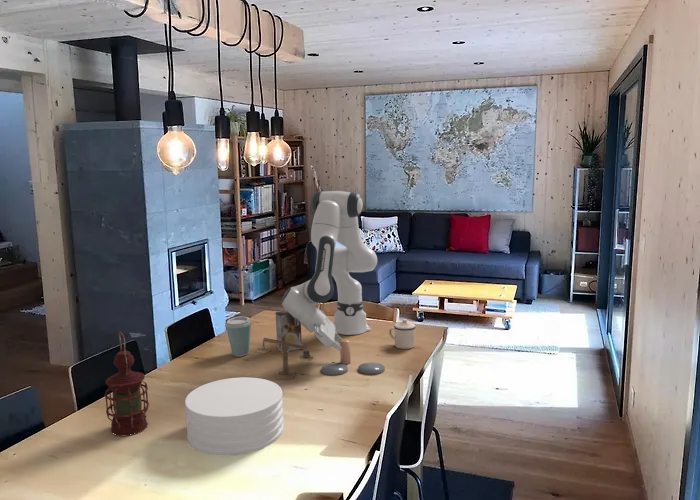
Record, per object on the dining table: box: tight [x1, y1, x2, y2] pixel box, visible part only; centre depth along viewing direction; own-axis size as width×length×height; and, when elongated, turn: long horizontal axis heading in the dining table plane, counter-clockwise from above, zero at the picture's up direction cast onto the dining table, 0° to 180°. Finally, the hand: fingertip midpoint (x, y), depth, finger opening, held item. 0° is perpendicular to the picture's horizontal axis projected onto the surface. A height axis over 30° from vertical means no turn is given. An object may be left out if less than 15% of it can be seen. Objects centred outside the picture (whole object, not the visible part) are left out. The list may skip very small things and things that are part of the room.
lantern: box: [104, 330, 150, 436], centre depth 170 cm, size 12×12×30 cm
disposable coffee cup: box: [224, 315, 253, 357], centre depth 235 cm, size 11×11×15 cm
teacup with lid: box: [388, 318, 416, 350], centre depth 243 cm, size 12×9×12 cm
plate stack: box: [184, 376, 285, 456], centre depth 169 cm, size 28×28×12 cm
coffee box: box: [275, 310, 303, 353], centre depth 241 cm, size 9×6×16 cm
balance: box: [256, 337, 314, 380], centre depth 211 cm, size 6×21×15 cm, turn 90°
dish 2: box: [357, 362, 386, 376], centre depth 217 cm, size 10×10×1 cm
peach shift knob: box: [339, 338, 351, 366], centre depth 224 cm, size 4×4×9 cm
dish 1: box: [321, 362, 349, 376], centre depth 217 cm, size 10×10×1 cm
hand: (340, 345), depth 223 cm, fingers open, 8 cm apart
